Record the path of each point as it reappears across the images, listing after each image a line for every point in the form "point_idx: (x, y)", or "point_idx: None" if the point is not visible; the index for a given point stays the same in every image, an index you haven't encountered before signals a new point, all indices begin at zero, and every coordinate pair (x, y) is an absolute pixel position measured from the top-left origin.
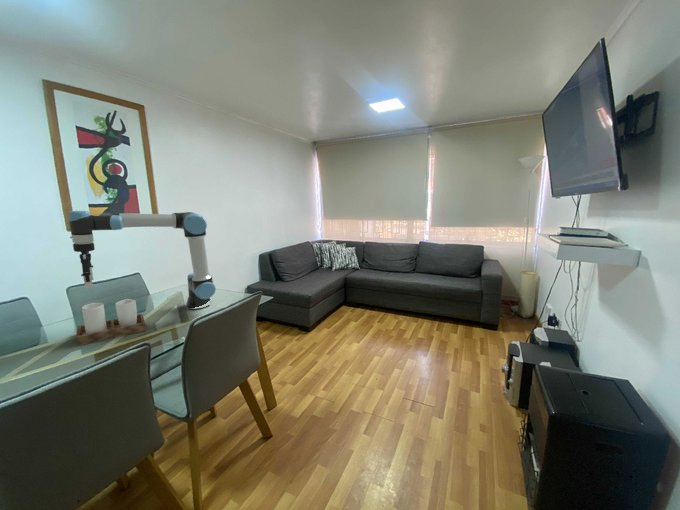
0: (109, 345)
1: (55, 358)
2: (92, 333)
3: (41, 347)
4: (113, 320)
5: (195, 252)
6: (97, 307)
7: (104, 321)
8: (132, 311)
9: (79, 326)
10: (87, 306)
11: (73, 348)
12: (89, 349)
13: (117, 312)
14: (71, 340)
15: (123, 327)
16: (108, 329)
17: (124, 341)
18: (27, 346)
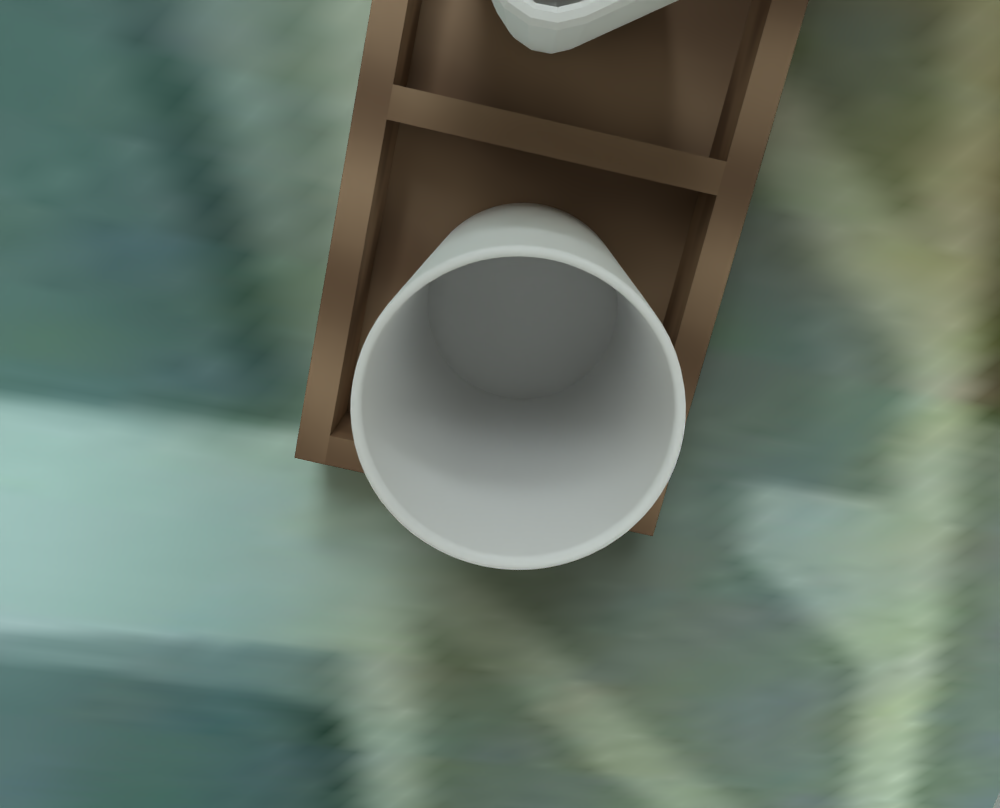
0: (900, 268)
1: (767, 661)
2: None
3: (420, 703)
4: (414, 89)
5: None
6: (680, 377)
7: (599, 244)
8: None
9: (326, 447)
10: (380, 459)
11: (671, 527)
12: (824, 431)
13: (582, 41)
14: None
15: (791, 57)
16: (482, 175)
17: (939, 118)
18: (307, 772)
